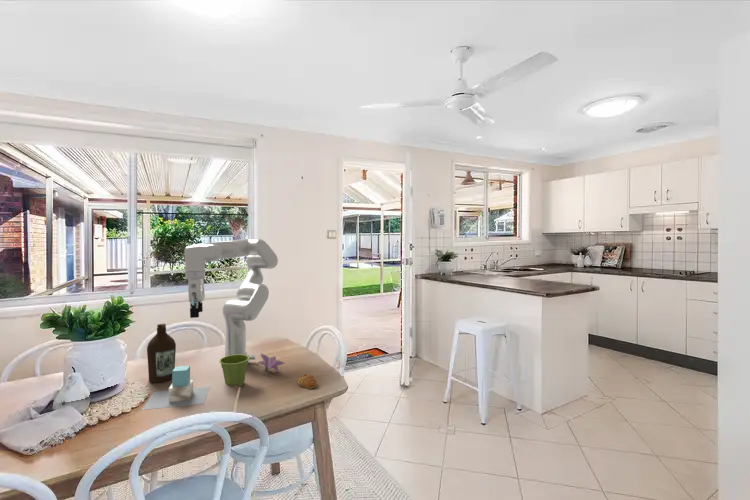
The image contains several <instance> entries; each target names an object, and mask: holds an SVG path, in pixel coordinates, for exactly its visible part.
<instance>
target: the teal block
mask: <svg viewBox="0 0 750 500" xmlns="http://www.w3.org/2000/svg"><path fill="white" fill-rule="evenodd" d="M190 380H191V365H180V366H175V368H174V370H173V371H172V380H171V382H172V383H171V384H172V387H181V386H187V385H188V384H189V382H190Z"/></svg>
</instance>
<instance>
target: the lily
mask: <svg viewBox="0 0 750 500" xmlns="http://www.w3.org/2000/svg"><path fill="white" fill-rule="evenodd" d="M260 356H261V359H262V360H261V361H257V362H256V363H257V364H260V365H263V366H264V370H265V371H267V372H266V377H267V376H268V377H269V375H268V374H269V370H270V369H273V370H275V371H277V372H280V368H279V367H278V366H282V365H286V362H284V361H281V360H277V357H276V356H271V357H269V356H268V355H266V354H264V353H260Z"/></svg>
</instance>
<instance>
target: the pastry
mask: <svg viewBox="0 0 750 500" xmlns="http://www.w3.org/2000/svg"><path fill="white" fill-rule="evenodd" d="M297 382H298V385H299V386H300V387H301V386H302V388H304V387H305V388H304V389H307V388H308V389H309V390H311V389H314V388H317V386H318V382H317V380H316V378H315V377H314V376H313V375H311V374H308V373H304V374H302V375H300V376H299V378H298V379H297ZM308 389H307V390H308Z"/></svg>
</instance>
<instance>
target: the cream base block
mask: <svg viewBox="0 0 750 500" xmlns="http://www.w3.org/2000/svg"><path fill="white" fill-rule="evenodd" d="M193 388H194V379H190V382H189V384H188V385H187V386H181V387H172V383H171V384H170V386H169V387H168V390H169V402H174V401H184V400H190V398H191V396H192V394H193Z"/></svg>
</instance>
